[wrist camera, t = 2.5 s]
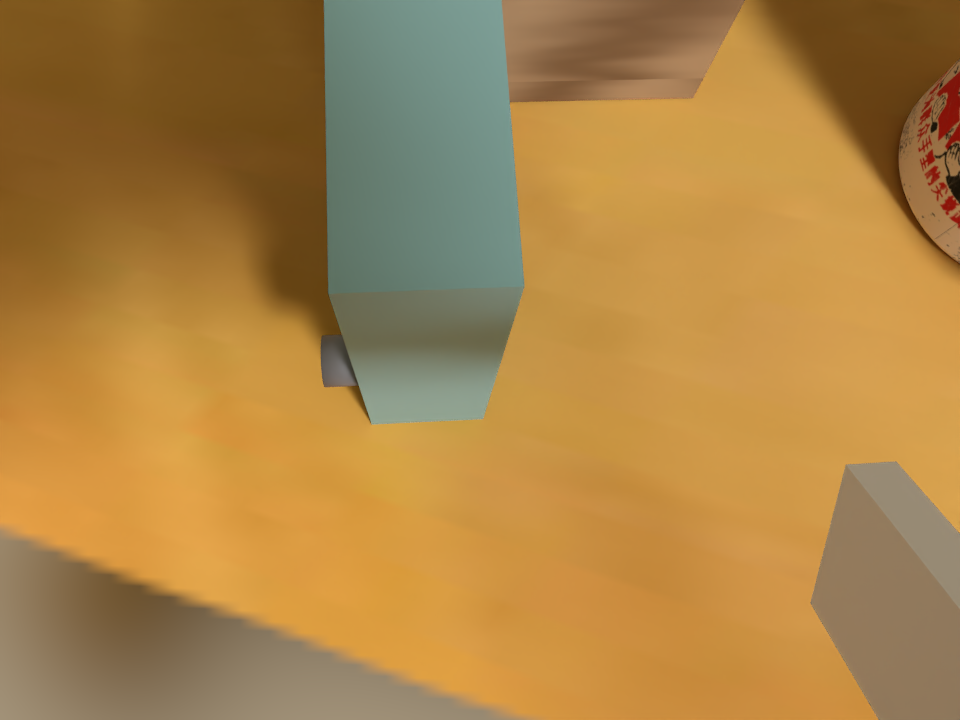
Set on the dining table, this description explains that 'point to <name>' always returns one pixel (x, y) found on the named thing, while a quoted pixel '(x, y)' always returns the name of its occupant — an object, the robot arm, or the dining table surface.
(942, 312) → the dining table surface
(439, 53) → the door
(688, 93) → the cabinet
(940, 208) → the teacup with lid
